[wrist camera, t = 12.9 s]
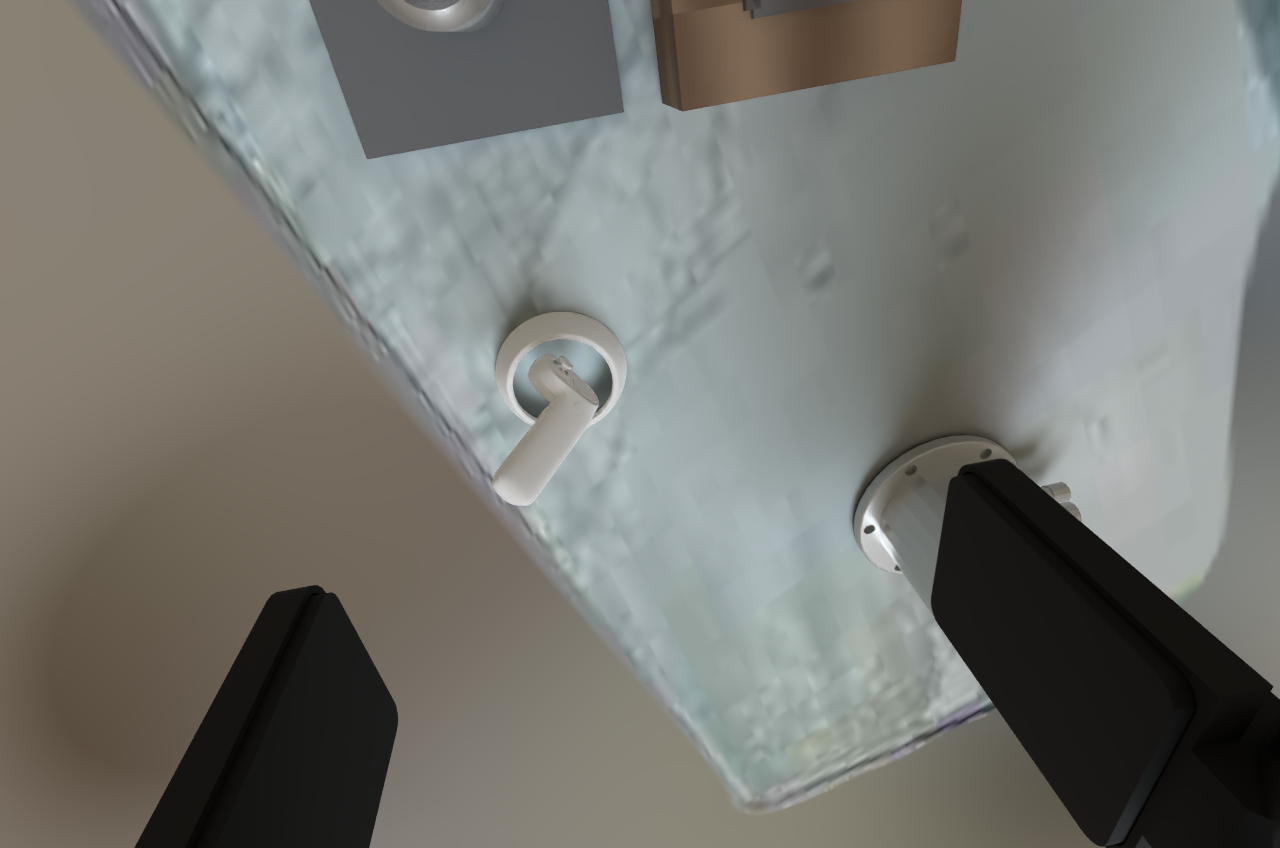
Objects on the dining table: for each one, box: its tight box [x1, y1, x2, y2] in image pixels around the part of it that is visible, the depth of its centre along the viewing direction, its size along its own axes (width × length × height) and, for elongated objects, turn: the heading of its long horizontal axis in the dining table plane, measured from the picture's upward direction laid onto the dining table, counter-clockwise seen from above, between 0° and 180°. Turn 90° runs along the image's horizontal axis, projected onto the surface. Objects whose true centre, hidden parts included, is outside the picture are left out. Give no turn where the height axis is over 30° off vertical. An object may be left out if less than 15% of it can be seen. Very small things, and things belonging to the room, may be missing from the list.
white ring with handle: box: [492, 311, 627, 505], centre depth 34 cm, size 8×12×7 cm
